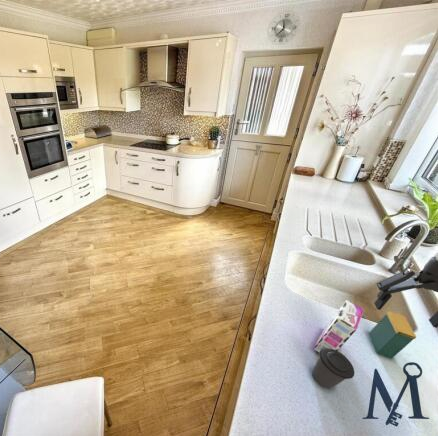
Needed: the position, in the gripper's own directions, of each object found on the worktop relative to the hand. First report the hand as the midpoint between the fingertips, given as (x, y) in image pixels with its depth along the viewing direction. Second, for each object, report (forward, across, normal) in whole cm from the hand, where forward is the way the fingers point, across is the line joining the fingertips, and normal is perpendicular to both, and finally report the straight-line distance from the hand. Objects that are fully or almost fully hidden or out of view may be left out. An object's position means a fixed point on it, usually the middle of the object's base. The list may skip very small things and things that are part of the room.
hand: (403, 314), depth 73 cm
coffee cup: (+14, -20, -24) cm, 34 cm away
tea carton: (+8, 0, -6) cm, 10 cm away
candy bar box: (+14, -17, -11) cm, 25 cm away
